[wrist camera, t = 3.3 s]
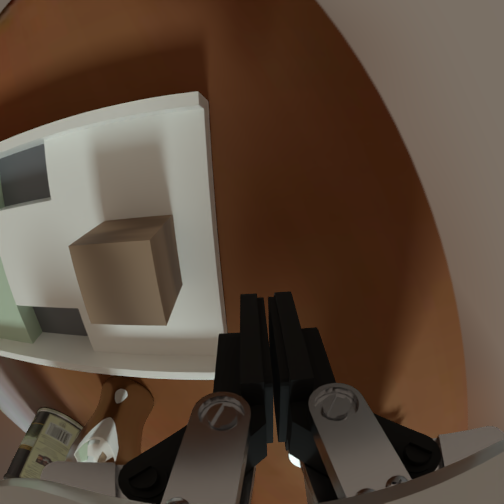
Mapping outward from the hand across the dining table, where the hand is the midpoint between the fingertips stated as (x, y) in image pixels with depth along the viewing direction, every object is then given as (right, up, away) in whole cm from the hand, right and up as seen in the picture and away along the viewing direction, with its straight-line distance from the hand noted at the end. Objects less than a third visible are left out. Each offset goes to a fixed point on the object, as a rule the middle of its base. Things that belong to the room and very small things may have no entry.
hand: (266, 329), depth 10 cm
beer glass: (-14, -13, +18) cm, 27 cm away
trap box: (-18, +3, +12) cm, 22 cm away
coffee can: (-29, -24, +22) cm, 44 cm away
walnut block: (-8, +3, +10) cm, 13 cm away
